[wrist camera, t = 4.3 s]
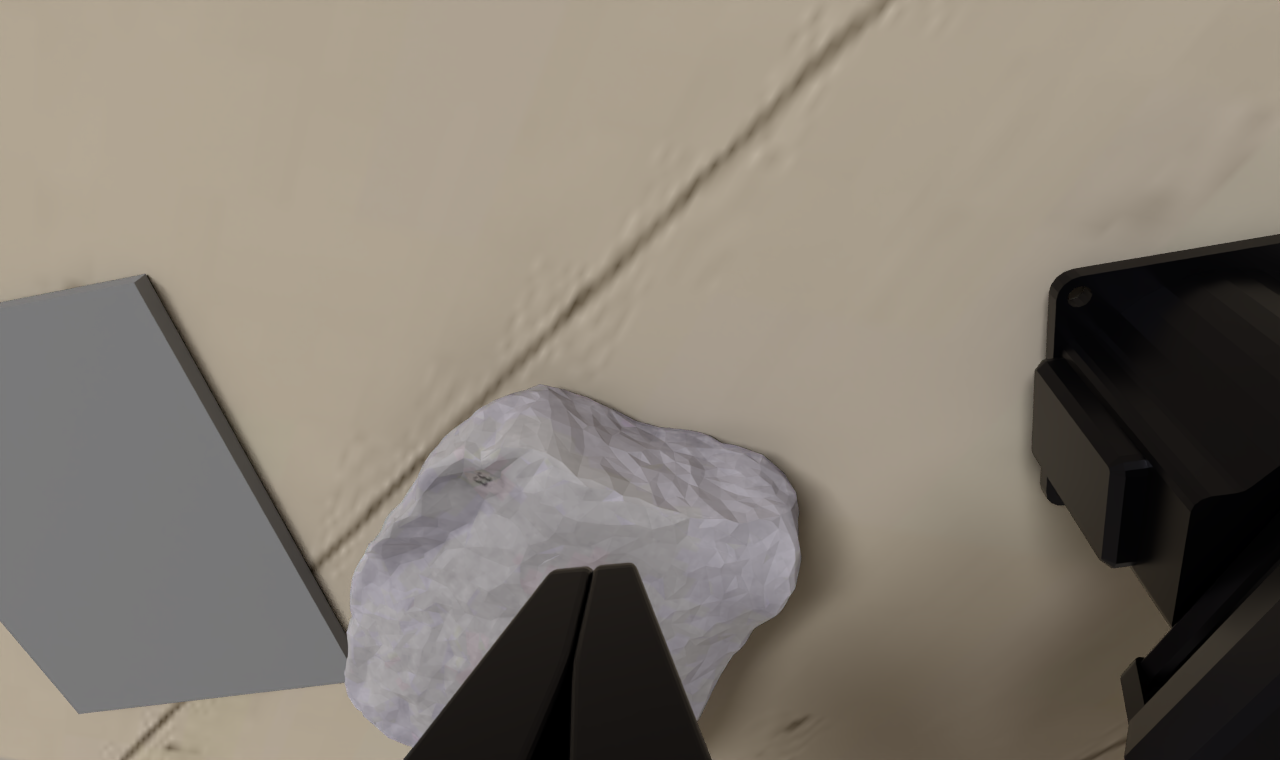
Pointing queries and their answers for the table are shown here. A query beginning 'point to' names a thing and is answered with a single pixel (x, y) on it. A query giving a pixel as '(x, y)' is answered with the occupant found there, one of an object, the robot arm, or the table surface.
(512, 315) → the table surface
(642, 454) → the stone block
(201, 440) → the mat
